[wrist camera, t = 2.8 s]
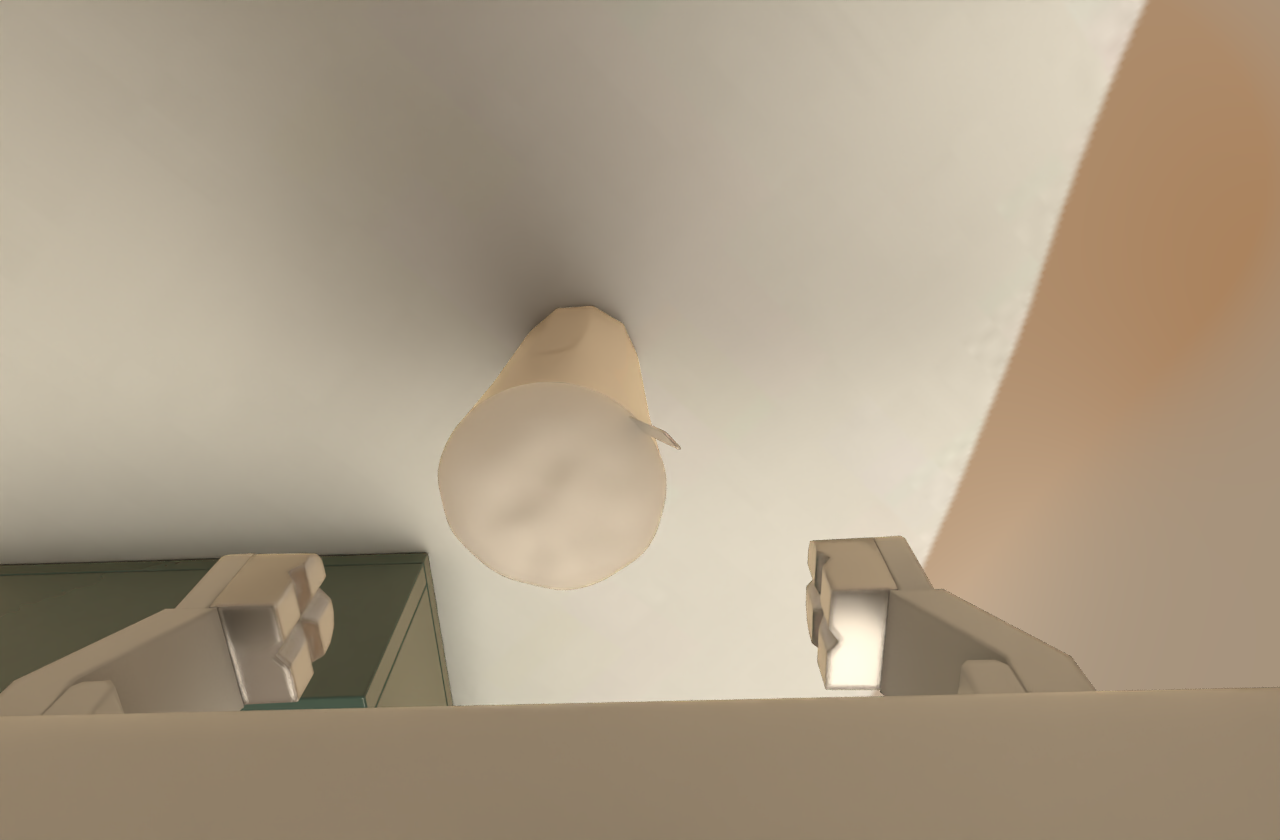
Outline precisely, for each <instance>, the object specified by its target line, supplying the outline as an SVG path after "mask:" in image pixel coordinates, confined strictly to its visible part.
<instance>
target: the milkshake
mask: <svg viewBox="0 0 1280 840" xmlns="http://www.w3.org/2000/svg"><path fill="white" fill-rule="evenodd" d="M656 439H657V440H659V441H662V442H664V443H666V444H668V445H670V446H672V447H674V448H676V449H679V450H680V449H681V448H680V446H679V445H678V444H677V443H676V442H675V441H674V440H673V439H672V438H671V436H670V435H669V434H668V433H667V432H665V431H663V430H661V429H659V428H657V427H655V426H652V423H651V420H650V416H649V411H648V406H647V400H646V395H645V390H644V385H643V380H642V375H641V370H640V365H639V360H638V355H637V353H636V351H635V349H634V346H633V344H632V342H631V340H630V337H629V335H628V333H627V331H626V328H625V326H624V324H623V323H622V322H620V321H618V320H616V319H615V318H613V317H611V316H610V315H608V314H606V313H604V312H603V311H601V310H599V309H598V308H596V307H594V306H580V307H567V308H556V309H555V310H554V311H553V312H552V313H551V314H550V315H548V316H547V317H546V318H545V319H544V320H543V321H541V322H540V323H539V324H538V325H537V326H536V327H534V328H533V329H532V330H531V331H530V332H529V333H528V335H527V336H526V337H525V339H524V340H523V342H522V343H521V344H520V346H519V347H518V349H517V350H516V351H515V353H514V354H513V356H512V357H511V358H510V360H509V361H508V363H507V364H506V365H505V367H504V368H503V370H502V371H501V372H500V374H499V375H498V377H497V378H496V379H495V381H494V382H493V384H492V385H491V386H490V387H489V388H488V390H487V391H486V392H485V393H484V394H483V396H482V397H481V398H480V399H479V400H478V402H477V403H476V404H475V405H474V406H473V408H472V409H471V410H470V411H469V412H468V414H467V415H466V416H465V417H464V418H463V419H462V420H461V421H460V423H459V424H458V425H457V426H456V428H455V429H454V431H453V432H452V434H451V435H450V437H449V439H448V441H447V443H446V445H445V447H444V450H443V452H442V455H441V458H440V462H439V467H438V484H439V490H440V494H441V499H442V503H443V508H444V511H445V515H446V518H447V521H448V524H449V526H450V528H451V530H452V532H453V533H454V535H455V536H456V537H457V539H458V540H459V541H460V542H461V543H462V544H463V545H464V546H465V547H466V548H467V549H468V550H469V551H470V552H471V553H472V554H473V555H474V556H475V557H476V558H478V559H479V560H480V561H481V562H482V563H484V564H485V565H486V566H487V567H489V568H490V569H492V570H493V571H495V572H496V573H498V574H500V575H502V576H504V577H507V578H510V579H512V580H516V581H519V582H523V583H527V584H531V585H536V586H540V587H544V588H549V589H555V590H572V589H578V588H583V587H587V586H590V585H593V584H596V583H598V582H600V581H602V580H604V579H606V578H608V577H610V576H612V575H613V574H615V573H617V572H618V571H620V570H621V569H623V568H624V567H626V566H627V565H629V564H630V563H632V562H633V561H635V560H636V559H637V558H638V557H639V556H640V555H642V554H643V553H644V552H645V550H646V549H647V548H648V546H649V545H650V543H651V542H652V540H653V538H654V536H655V534H656V531H657V529H658V526H659V523H660V520H661V516H662V512H663V508H664V504H665V498H666V473H665V468H664V464H663V461H662V458H661V456H660V452H659V449H658V445H657V441H656Z"/></svg>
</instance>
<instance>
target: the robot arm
mask: <svg viewBox="0 0 1280 840" xmlns="http://www.w3.org/2000/svg"><path fill="white" fill-rule="evenodd" d="M808 567H809V570H810V573H811V576H812V581H811V582H810V583H809V584H808V585H807V587H806V613H807V624H808V630H809V634H810V638H811V642H812V644H814V645H815V646H816V647H818V655H817V663H818V666H819V669H820V672H821V676H822V679H823V682H824V686H825V689H826V690H880V692H881V693H882V694H883V695H884V696H864V697H820V698H777V699H734V700H691V701H648V702H605V703H561V704H517V705H473V706H429V707H385V708H341V709H297V710H253V711H240V710H241V709H242V708H244V705H247V704H267V703H287V702H298V701H299V699H300V697H301V695H302V693H303V692H304V690H305V688H306V686H307V685H308V683H309V681H310V679H311V678H312V676H313V674H314V672H313V667H312V663H313V662H314V661H316V660H317V659H319V658H320V657H322V656H324V655H325V653H326V651H327V649H328V647H329V645H330V643H331V638H332V634H333V629H334V611H333V606H332V601H331V598H330V597H329V596H327V595H326V594H325V593H324V592H323V591H322V590H321V589H320V588H319V587H320V586H321V584H322V582H323V581H324V579H325V577H326V573H325V569H324V566H323V562H322V559H321V558H320V557H319V556H318V555H317V554H316V553H291V554H255V553H251V554H230V555H225V556H222V557H221V558H220V559H219V560H218V561H217V563H216V564H215V565H214V566H213V567H212V568H211V569H210V570H209V571H208V572H207V574H206V575H205V576H204V577H203V578H202V579H201V580H200V581H199V582H198V584H197V585H196V586H195V587H194V588H193V589H192V590H191V591H190V592H189V593H188V595H187V596H186V597H185V598H184V599H183V600H182V601H181V602H180V603H179V605H178V606H177V607H176V608H175V609H164V610H162V611H160V612H158V613H156V614H154V615H152V616H149V617H147V618H145V619H143V620H141V621H139V622H137V623H135V624H133V625H130V626H128V627H126V628H124V629H122V630H120V631H118V632H116V633H114V634H111V635H109V636H107V637H105V638H103V639H101V640H99V641H97V642H95V643H92V644H90V645H88V646H86V647H84V648H82V649H80V650H78V651H76V652H74V653H71V654H69V655H67V656H65V657H63V658H61V659H59V660H57V661H55V662H52V663H50V664H48V665H46V666H44V667H42V668H40V669H38V670H36V671H33V672H31V673H29V674H27V675H25V676H23V677H21V678H19V679H17V680H14V681H13V682H12V683H11V684H10V685H9V686H8V687H7V688H6V689H5V690H4V691H3V692H1V693H0V840H1280V687H1262V688H1218V689H1217V688H1216V689H1176V690H1174V689H1171V690H1128V691H1096V690H1095V688H1094V687H1093V686H1092V684H1091V683H1090V681H1089V680H1088V679H1087V677H1086V676H1085V674H1084V673H1083V672H1082V671H1081V669H1080V668H1079V666H1078V665H1077V664H1076V662H1075V661H1074V660H1073V658H1072V657H1071V656H1070V655H1067V654H1066V653H1064V652H1062V651H1060V650H1058V649H1056V648H1054V647H1053V646H1051V645H1049V644H1047V643H1045V642H1043V641H1041V640H1039V639H1037V638H1035V637H1033V636H1031V635H1029V634H1028V633H1026V632H1024V631H1022V630H1020V629H1018V628H1016V627H1014V626H1013V625H1010V624H1009V623H1007V622H1005V621H1003V620H1001V619H999V618H997V617H995V616H993V615H992V614H990V613H988V612H986V611H984V610H982V609H980V608H978V607H976V606H975V605H973V604H971V603H969V602H967V601H965V600H963V599H961V598H959V597H957V596H956V595H954V594H952V593H950V592H948V591H946V590H944V589H934V588H933V586H932V584H931V583H930V581H929V579H928V577H927V576H926V574H925V572H924V570H923V569H922V567H921V565H920V564H919V562H918V560H917V558H916V557H915V555H914V553H913V551H912V550H911V548H910V546H909V544H908V543H907V541H906V539H905V538H904V537H902V536H888V537H871V538H851V539H832V540H813V541H810V544H809V549H808Z"/></svg>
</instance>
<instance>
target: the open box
mask: <svg viewBox="0 0 1280 840" xmlns="http://www.w3.org/2000/svg"><path fill="white" fill-rule="evenodd" d="M319 557H320V558H321V559H322V562H323V566H324V569H325V573H326V577H325V579H324V581H323V582H322V584H321V586H320V587H319V588H320V589H321V590H322V591H323V592H324V593H325V594H326V595H327V596H329V597H330V598H331V601H332V606H333V611H334V629H333V634H332V638H331V643H330V645H329V647H328V649H327V651H326V653H325V655H324V656H322V657H320V658H319V659H317V660H316V661H314V662H313V663H312V667H313V672H314V674H313V676H312V678H311V679H310V681H309V683H308V685H307V686H306V688H305V690H304V692H303V693H302V695H301V697H300V699H299V701H298V702H287V703H267V704H247V705H244V708H242V709H241V710H240V711H253V710H297V709H341V708H385V707H429V706H453V704H452V698H451V692H450V685H449V679H448V673H447V667H446V661H445V655H444V649H443V643H442V637H441V631H440V625H439V619H438V613H437V607H436V601H435V595H434V589H433V583H432V577H431V571H430V565H429V559H428V554H427V553H409V554H375V555H341V556H319ZM218 560H219V559H205V560H172V561H138V562H104V563H70V564H36V565H2V566H0V693H1V692H3V691H4V690H5V689H6V688H7V687H8V686H9V685H10V684H11V683H12V682H13V681H14V680H17V679H19V678H21V677H23V676H25V675H27V674H29V673H31V672H33V671H36V670H38V669H40V668H42V667H44V666H46V665H48V664H50V663H52V662H55V661H57V660H59V659H61V658H63V657H65V656H67V655H69V654H71V653H74V652H76V651H78V650H80V649H82V648H84V647H86V646H88V645H90V644H92V643H95V642H97V641H99V640H101V639H103V638H105V637H107V636H109V635H111V634H114V633H116V632H118V631H120V630H122V629H124V628H126V627H128V626H130V625H133V624H135V623H137V622H139V621H141V620H143V619H145V618H147V617H149V616H152V615H154V614H156V613H158V612H160V611H162V610H164V609H175V608H176V607H177V606H178V605H179V603H180V602H181V601H182V600H183V599H184V598H185V597H186V596H187V595H188V593H189V592H190V591H191V590H192V589H193V588H194V587H195V586H196V585H197V584H198V582H199V581H200V580H201V579H202V578H203V577H204V576H205V575H206V574H207V572H208V571H209V570H210V569H211V568H212V567H213V566H214V565H215V564H216V563H217V561H218Z"/></svg>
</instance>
